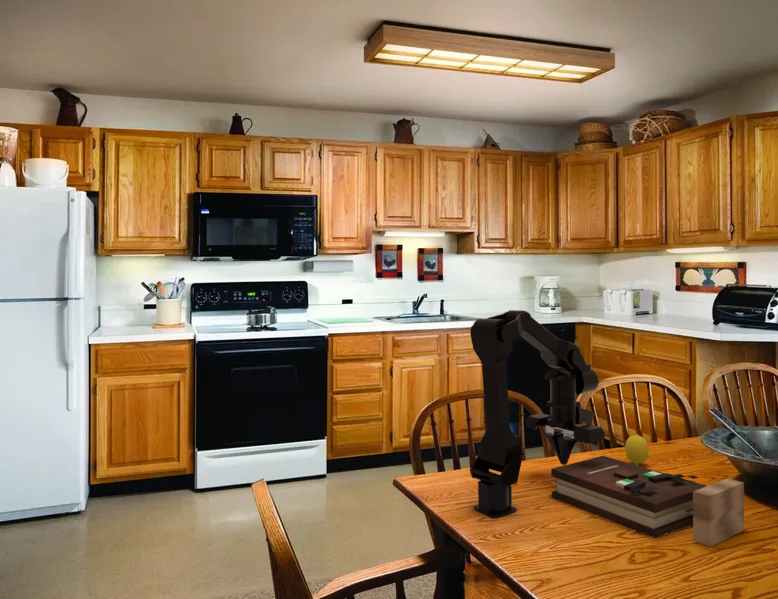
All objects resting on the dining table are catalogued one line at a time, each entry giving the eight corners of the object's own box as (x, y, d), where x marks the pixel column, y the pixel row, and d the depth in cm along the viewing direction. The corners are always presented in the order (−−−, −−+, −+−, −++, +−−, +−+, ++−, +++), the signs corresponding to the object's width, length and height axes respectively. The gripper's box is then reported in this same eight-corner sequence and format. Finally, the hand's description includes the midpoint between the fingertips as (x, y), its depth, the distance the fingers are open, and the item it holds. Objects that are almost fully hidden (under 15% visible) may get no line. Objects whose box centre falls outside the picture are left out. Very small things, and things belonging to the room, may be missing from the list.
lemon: (650, 464, 154) (650, 432, 153) (646, 470, 149) (646, 438, 149) (627, 461, 156) (627, 430, 156) (623, 466, 152) (622, 435, 152)
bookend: (709, 547, 106) (709, 496, 106) (693, 541, 109) (692, 491, 109) (744, 530, 113) (743, 482, 113) (727, 524, 116) (727, 478, 115)
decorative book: (598, 448, 143) (724, 484, 118) (598, 480, 143) (724, 522, 118) (539, 463, 133) (662, 505, 108) (539, 497, 133) (662, 547, 108)
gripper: (620, 399, 136) (620, 467, 137) (555, 387, 152) (556, 449, 152) (587, 405, 130) (588, 477, 131) (524, 393, 146) (524, 457, 146)
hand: (564, 464), depth 140 cm, fingers closed
